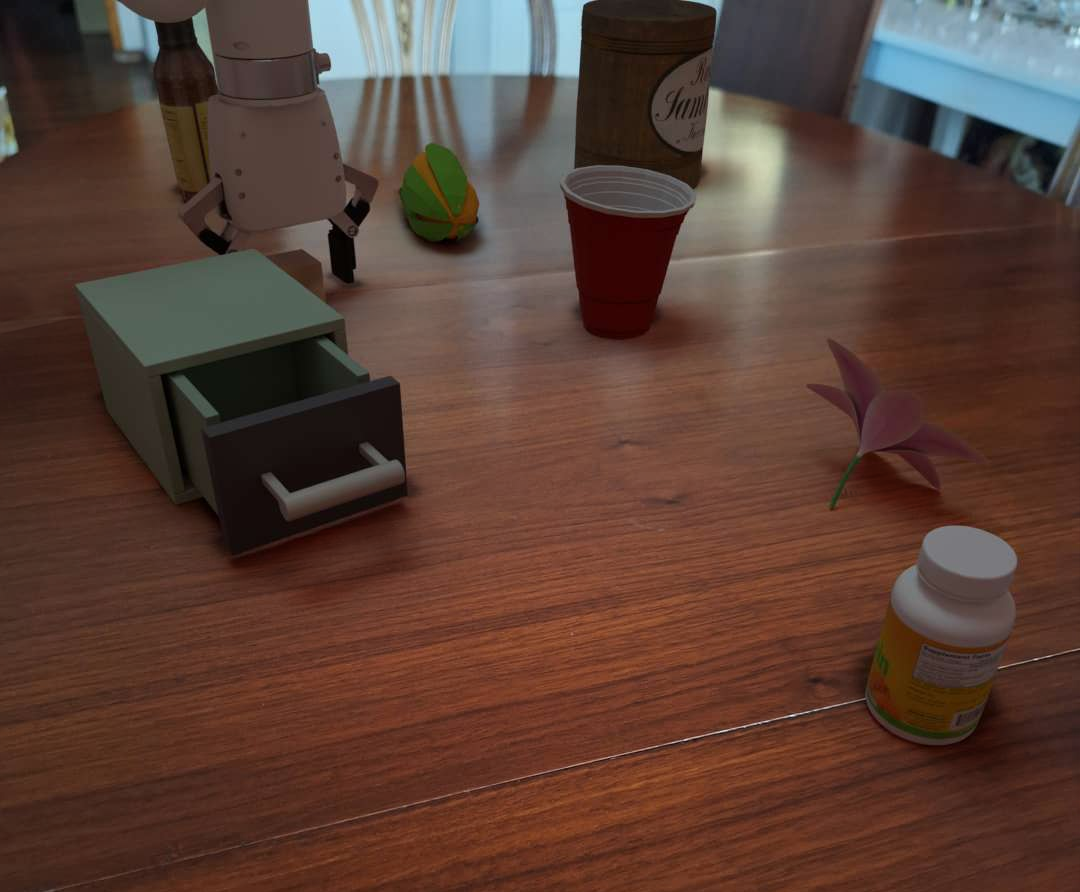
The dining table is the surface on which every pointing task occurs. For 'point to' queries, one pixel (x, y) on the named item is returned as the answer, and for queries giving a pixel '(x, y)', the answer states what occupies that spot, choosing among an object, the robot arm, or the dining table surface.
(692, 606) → the dining table surface
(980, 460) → the lily
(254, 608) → the dining table surface
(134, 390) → the cabinet
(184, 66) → the sauce bottle
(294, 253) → the block
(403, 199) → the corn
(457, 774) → the dining table surface
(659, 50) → the wooden container
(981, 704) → the supplement bottle
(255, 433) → the drawer
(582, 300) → the plastic cup
